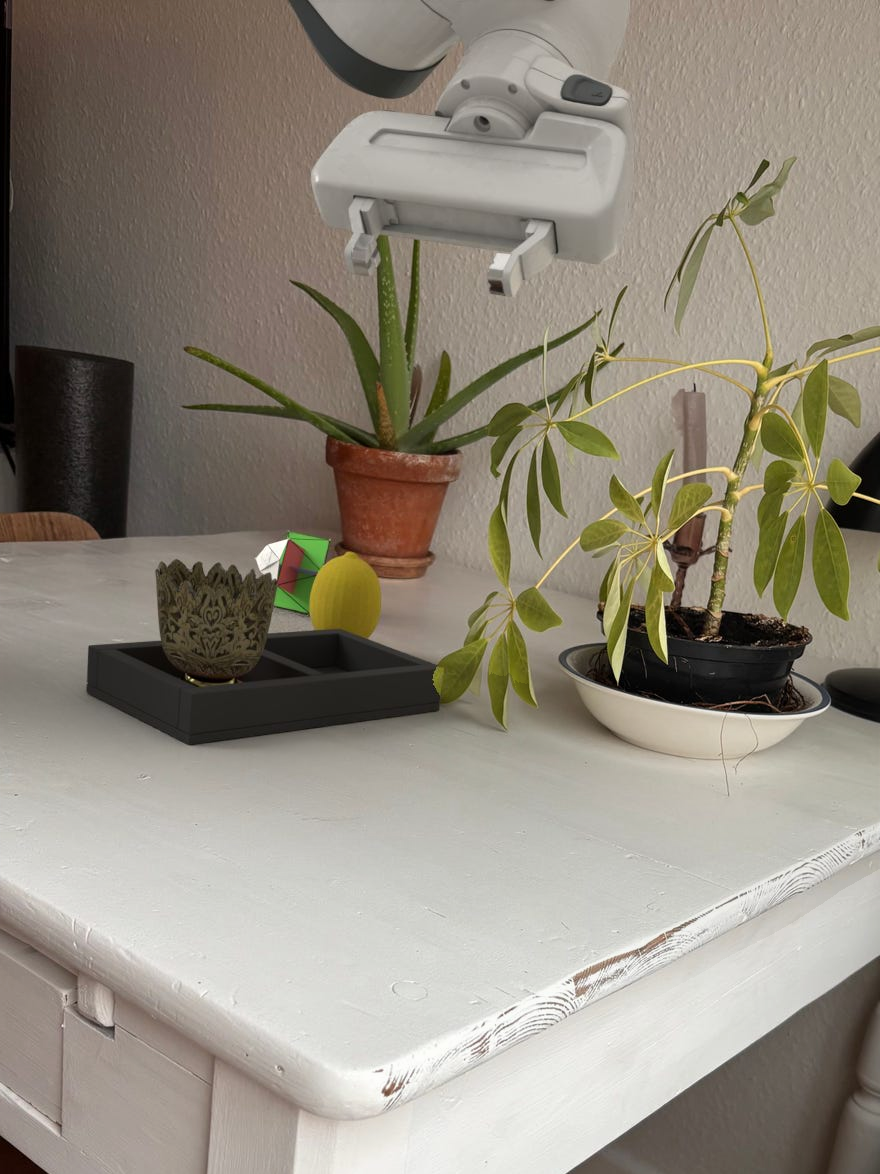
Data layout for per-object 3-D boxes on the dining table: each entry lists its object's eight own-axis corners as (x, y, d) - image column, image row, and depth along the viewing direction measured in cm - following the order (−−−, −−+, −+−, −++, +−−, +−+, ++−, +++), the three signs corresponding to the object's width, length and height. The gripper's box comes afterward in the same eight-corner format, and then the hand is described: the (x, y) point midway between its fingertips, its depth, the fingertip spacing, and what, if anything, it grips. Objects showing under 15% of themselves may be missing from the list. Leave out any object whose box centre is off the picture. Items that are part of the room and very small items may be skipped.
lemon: (317, 661, 98) (328, 556, 95) (296, 643, 102) (306, 542, 99) (384, 664, 100) (397, 561, 97) (361, 646, 105) (373, 547, 102)
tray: (85, 692, 82) (87, 644, 81) (335, 668, 97) (339, 628, 96) (188, 745, 75) (192, 693, 74) (439, 710, 90) (445, 667, 89)
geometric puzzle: (293, 570, 120) (272, 503, 113) (359, 585, 118) (342, 517, 111) (257, 624, 116) (234, 558, 109) (325, 640, 114) (305, 574, 107)
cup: (262, 720, 79) (274, 591, 76) (140, 706, 78) (147, 574, 75) (270, 689, 86) (282, 569, 83) (158, 675, 85) (165, 553, 82)
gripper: (349, 64, 83) (259, 209, 77) (655, 94, 77) (581, 252, 72) (370, 155, 88) (288, 296, 83) (657, 189, 82) (588, 342, 77)
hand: (426, 276), depth 77 cm, fingers open, 8 cm apart
